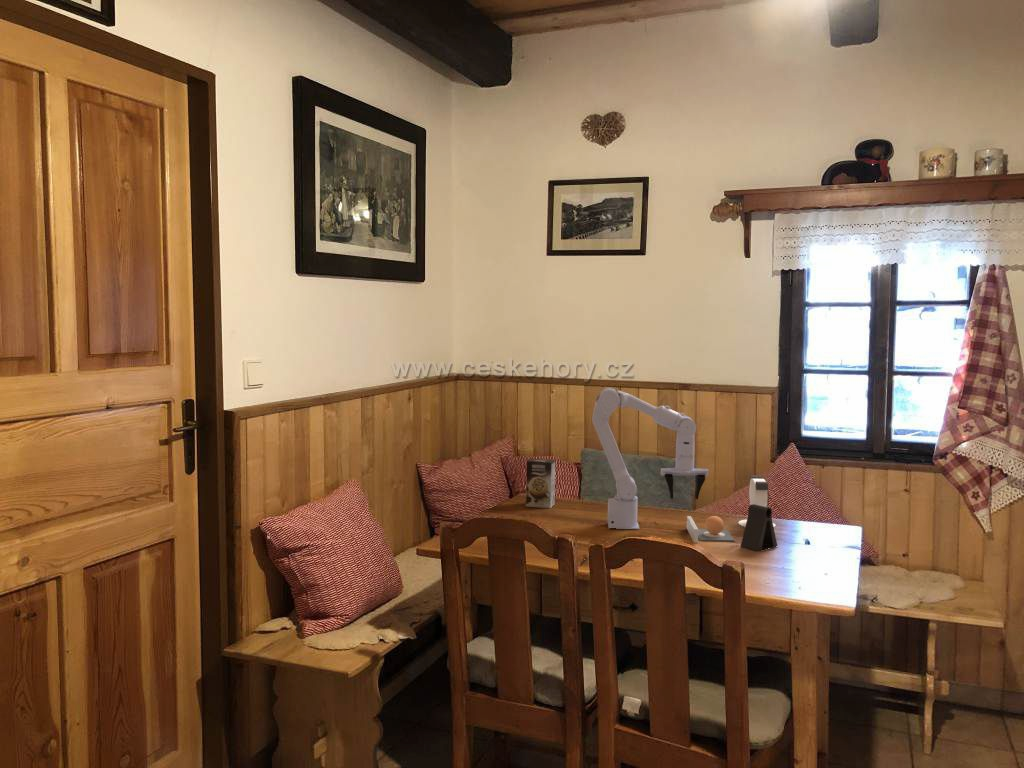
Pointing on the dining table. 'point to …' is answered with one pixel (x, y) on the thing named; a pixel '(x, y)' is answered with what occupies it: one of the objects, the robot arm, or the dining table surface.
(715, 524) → the ball
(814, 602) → the dining table surface
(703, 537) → the mat
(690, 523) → the fence
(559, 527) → the dining table surface
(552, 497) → the coffee box
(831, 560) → the dining table surface
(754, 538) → the phone stand
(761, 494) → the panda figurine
